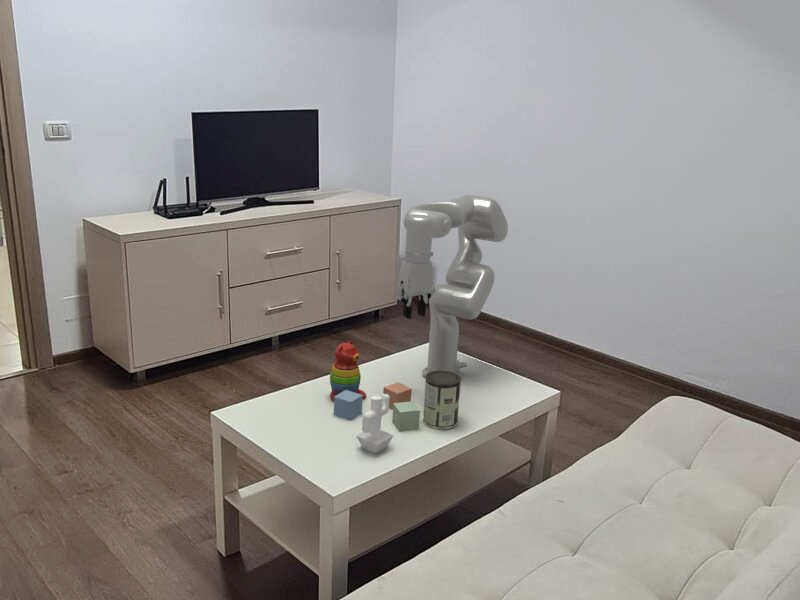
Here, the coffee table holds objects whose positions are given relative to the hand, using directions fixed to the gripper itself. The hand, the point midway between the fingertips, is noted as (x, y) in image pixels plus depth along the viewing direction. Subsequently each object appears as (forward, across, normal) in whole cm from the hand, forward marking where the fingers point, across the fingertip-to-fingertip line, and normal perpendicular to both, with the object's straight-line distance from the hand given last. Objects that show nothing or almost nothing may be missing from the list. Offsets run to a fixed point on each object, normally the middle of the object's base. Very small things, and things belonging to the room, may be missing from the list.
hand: (414, 315), depth 222 cm
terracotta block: (+27, +6, +2) cm, 28 cm away
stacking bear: (+28, +17, -10) cm, 34 cm away
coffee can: (+28, +1, +17) cm, 32 cm away
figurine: (+28, +26, +21) cm, 43 cm away
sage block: (+27, +11, +14) cm, 33 cm away
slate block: (+27, +22, 0) cm, 35 cm away
